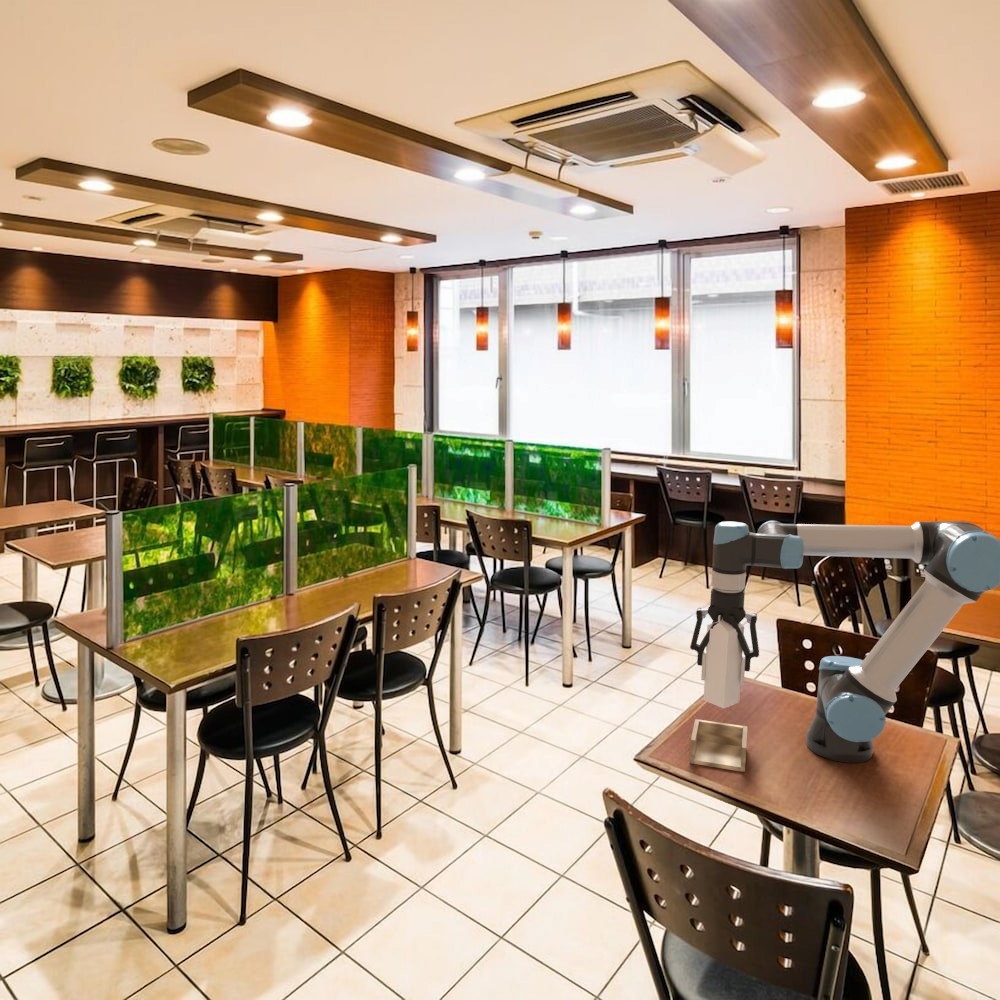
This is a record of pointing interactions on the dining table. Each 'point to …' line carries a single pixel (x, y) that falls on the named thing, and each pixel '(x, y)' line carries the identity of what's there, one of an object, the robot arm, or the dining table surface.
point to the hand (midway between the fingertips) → (722, 680)
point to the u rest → (719, 745)
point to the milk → (723, 665)
